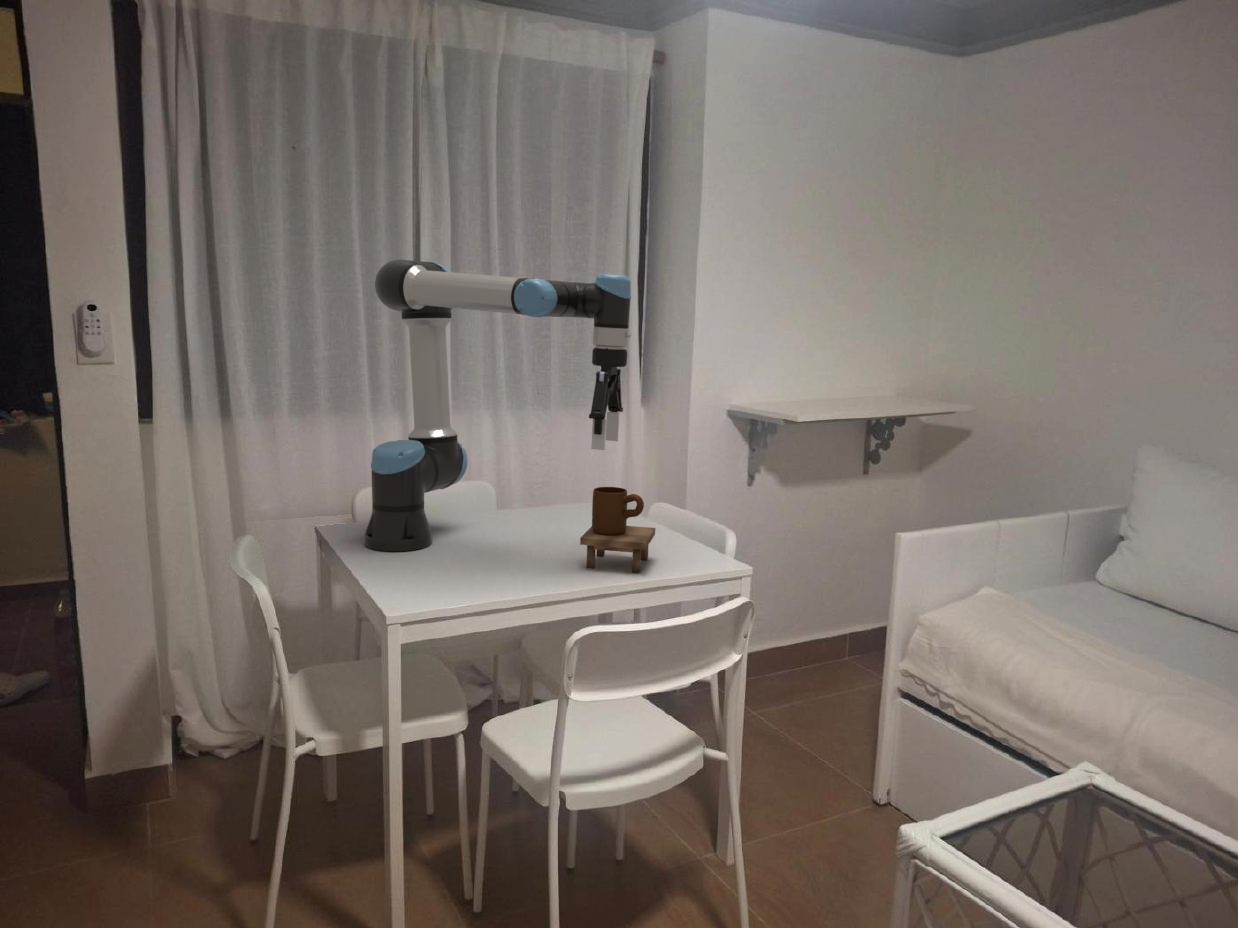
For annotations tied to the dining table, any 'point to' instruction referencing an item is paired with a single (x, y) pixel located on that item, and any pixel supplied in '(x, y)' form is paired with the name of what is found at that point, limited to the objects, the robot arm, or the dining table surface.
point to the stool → (619, 544)
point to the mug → (613, 510)
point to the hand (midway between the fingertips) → (605, 445)
